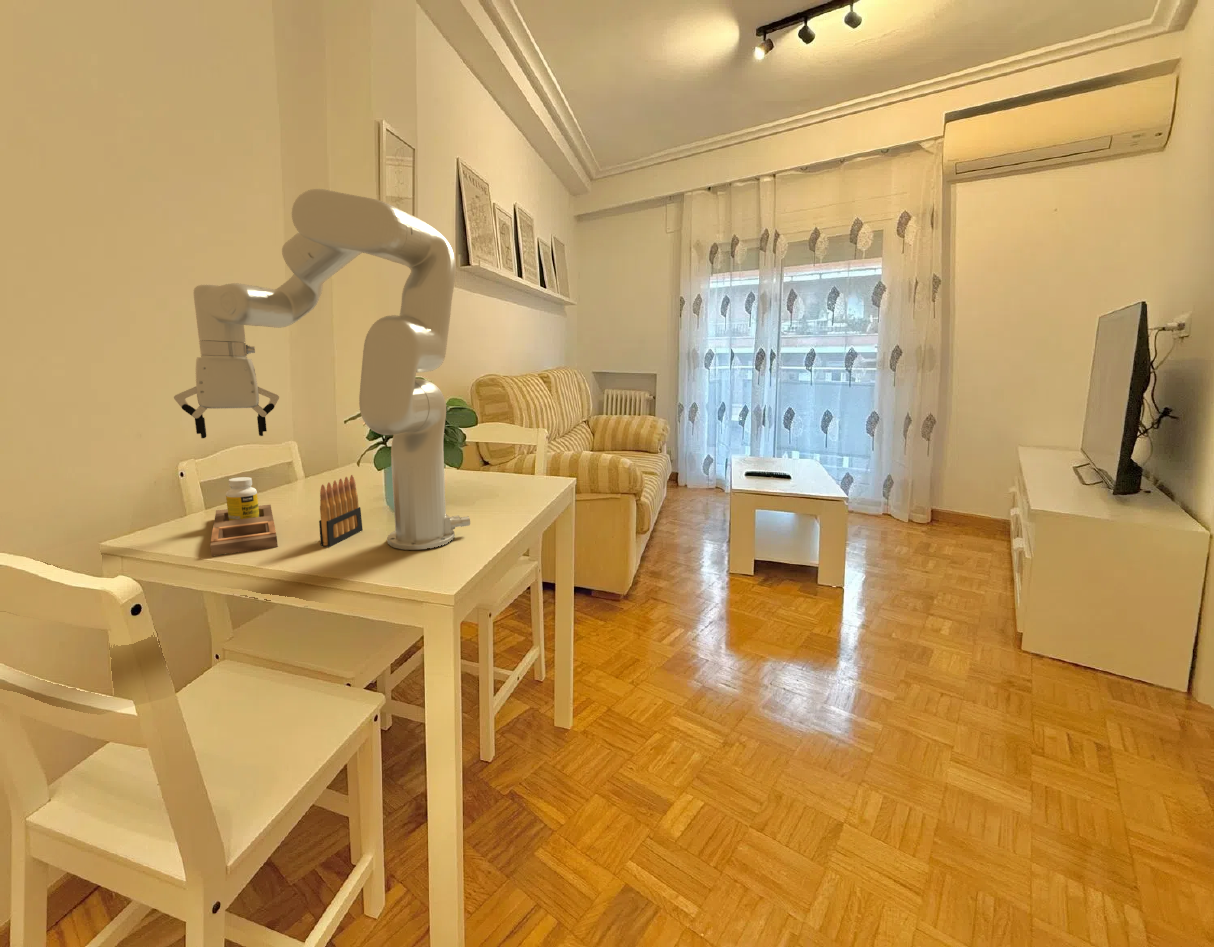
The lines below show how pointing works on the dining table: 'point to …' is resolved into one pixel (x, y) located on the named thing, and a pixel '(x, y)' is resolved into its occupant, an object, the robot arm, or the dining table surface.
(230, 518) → the supplement bottle
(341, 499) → the ammunition clip
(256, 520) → the hole rail
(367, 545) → the dining table surface
